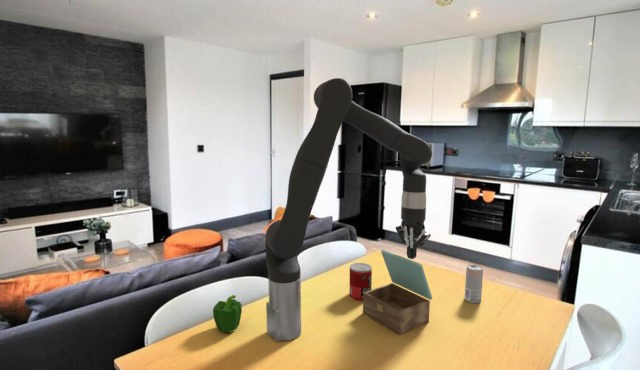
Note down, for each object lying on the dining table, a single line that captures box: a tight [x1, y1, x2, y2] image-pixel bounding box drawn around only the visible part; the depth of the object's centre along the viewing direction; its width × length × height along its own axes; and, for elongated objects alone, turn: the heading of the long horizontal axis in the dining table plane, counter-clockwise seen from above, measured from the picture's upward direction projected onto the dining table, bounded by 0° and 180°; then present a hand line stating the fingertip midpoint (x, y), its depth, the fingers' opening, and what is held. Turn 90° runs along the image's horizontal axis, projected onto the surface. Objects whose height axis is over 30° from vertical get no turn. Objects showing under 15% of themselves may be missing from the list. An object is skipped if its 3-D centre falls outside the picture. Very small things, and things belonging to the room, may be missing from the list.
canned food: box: [349, 262, 373, 301], centre depth 131 cm, size 8×8×11 cm
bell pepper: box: [212, 294, 243, 333], centre depth 110 cm, size 8×8×10 cm
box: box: [362, 282, 431, 336], centre depth 116 cm, size 13×16×7 cm
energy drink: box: [464, 264, 484, 304], centre depth 128 cm, size 5×5×12 cm
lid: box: [380, 249, 434, 301], centre depth 117 cm, size 14×16×1 cm
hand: (411, 258), depth 118 cm, fingers closed
